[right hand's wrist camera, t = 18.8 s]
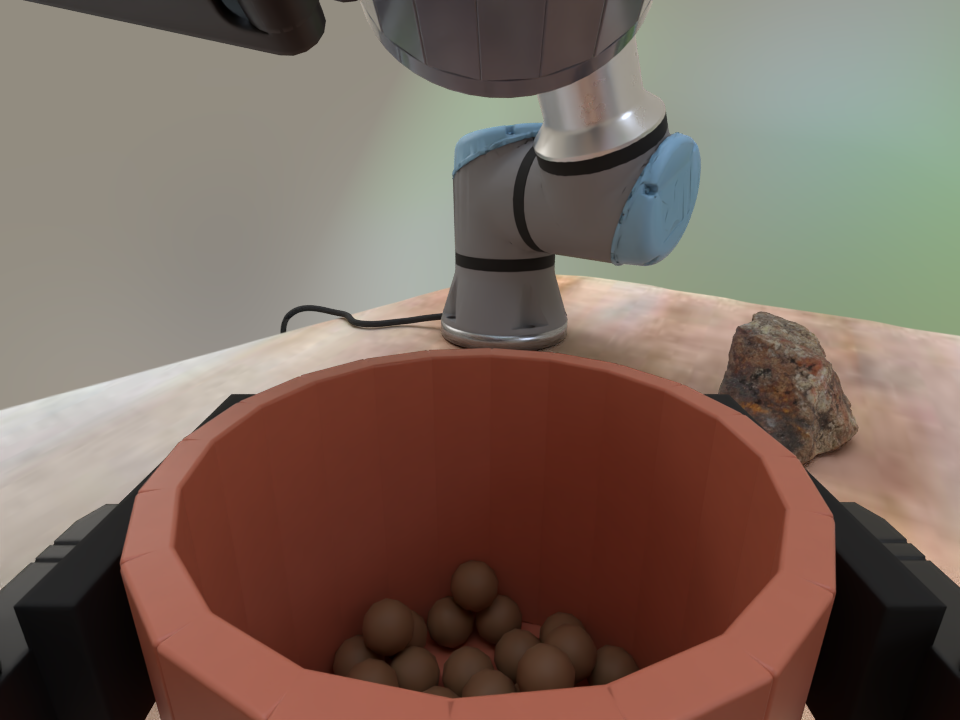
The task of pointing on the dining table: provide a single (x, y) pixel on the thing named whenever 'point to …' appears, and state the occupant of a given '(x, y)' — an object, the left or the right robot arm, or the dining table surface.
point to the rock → (788, 386)
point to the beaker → (504, 40)
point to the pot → (480, 540)
